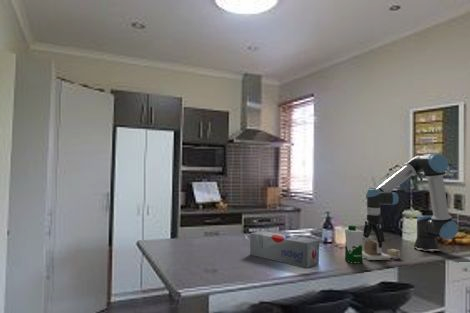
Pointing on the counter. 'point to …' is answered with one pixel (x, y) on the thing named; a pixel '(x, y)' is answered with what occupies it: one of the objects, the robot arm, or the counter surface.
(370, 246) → the walnut cube
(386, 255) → the tile
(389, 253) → the maple block
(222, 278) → the counter surface
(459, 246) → the counter surface
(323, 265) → the counter surface
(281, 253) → the soda pack
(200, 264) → the counter surface
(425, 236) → the robot arm
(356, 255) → the soya milk
